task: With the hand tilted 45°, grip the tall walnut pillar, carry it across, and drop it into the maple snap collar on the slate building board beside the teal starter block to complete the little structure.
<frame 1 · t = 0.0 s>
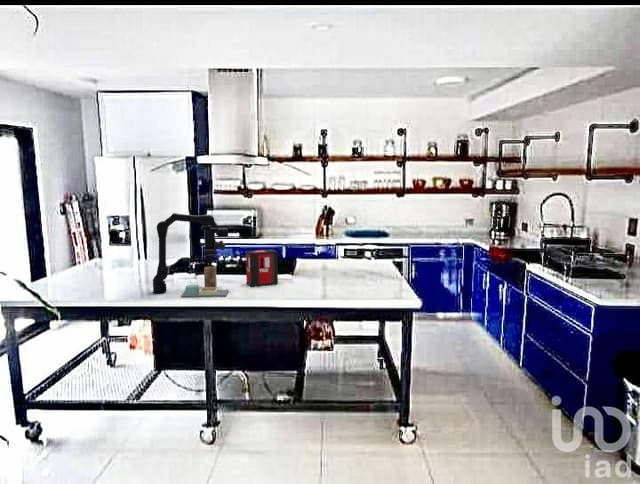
hand: (210, 264, 290), 15 cm above the table, tool pointing down, fingers open, 9 cm apart
pillar: (210, 289, 295), on the table
board: (208, 294, 282), on the table
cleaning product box: (262, 284, 307), on the table
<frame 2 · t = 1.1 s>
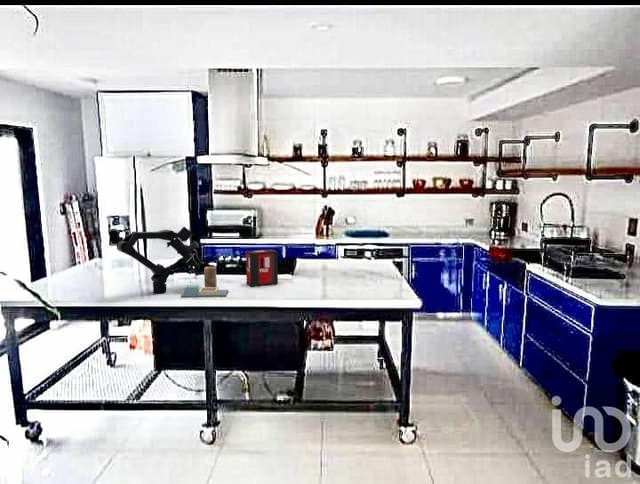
hand: (200, 266, 293), 13 cm above the table, tool tilted 45°, fingers open, 9 cm apart
nothing on the table moved.
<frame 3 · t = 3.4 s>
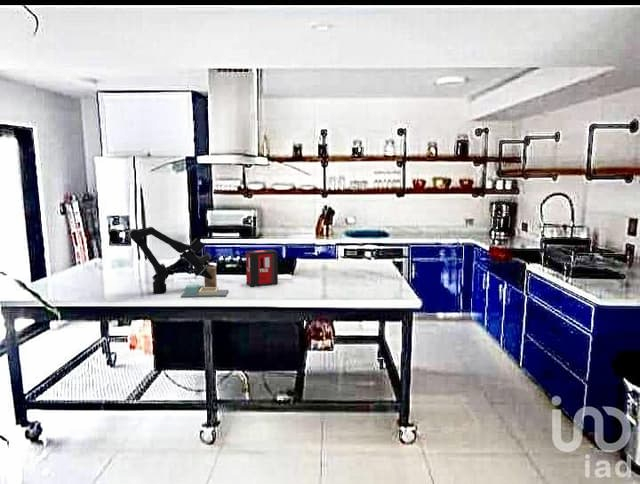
hand: (212, 277, 294), 7 cm above the table, tool tilted 45°, fingers closed on pillar, 6 cm apart
pillar: (210, 289, 295), on the table, touching gripper
everything else where it was.
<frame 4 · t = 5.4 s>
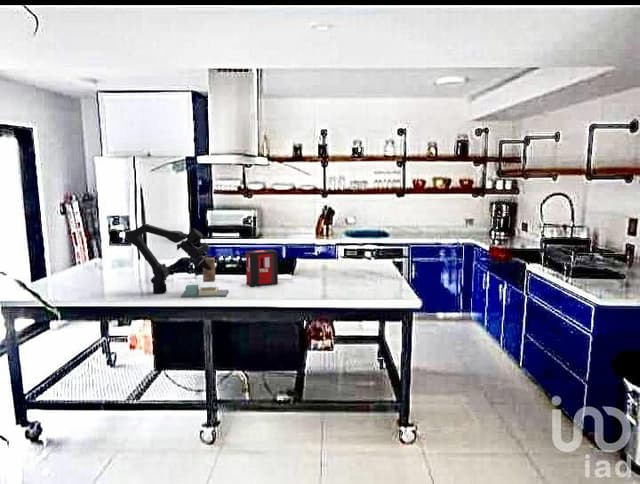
hand: (211, 268, 285), 14 cm above the table, tool tilted 45°, fingers closed on pillar, 6 cm apart
pillar: (209, 280, 285), point 7 cm above the table, touching gripper
everything else where it was.
when the fingers open (8 cm above the table, at t = 7.3 s): pillar stays where it is, resting on board.
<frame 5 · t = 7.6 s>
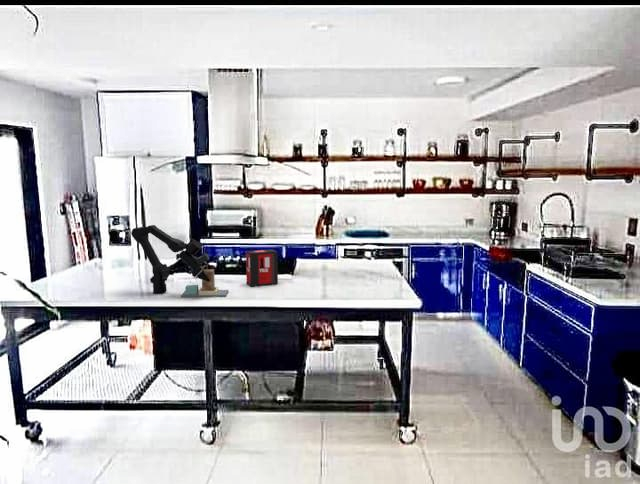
hand: (210, 279, 281), 9 cm above the table, tool tilted 45°, fingers open, 9 cm apart
pillar: (208, 292, 282), point 1 cm above the table, touching board
everything else where it was.
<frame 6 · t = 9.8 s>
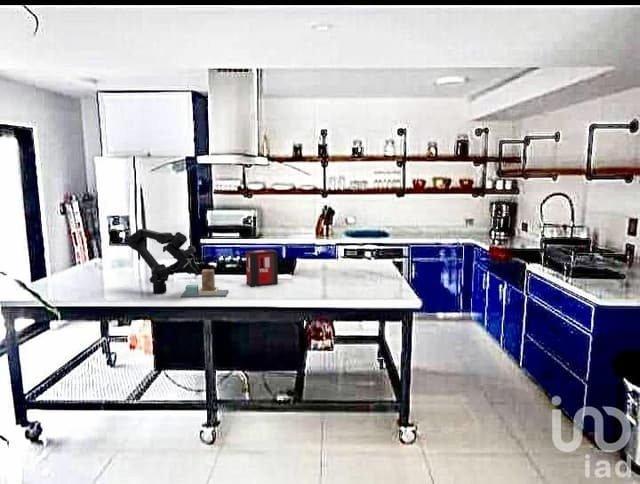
hand: (197, 271, 280), 13 cm above the table, tool tilted 45°, fingers open, 9 cm apart
nothing on the table moved.
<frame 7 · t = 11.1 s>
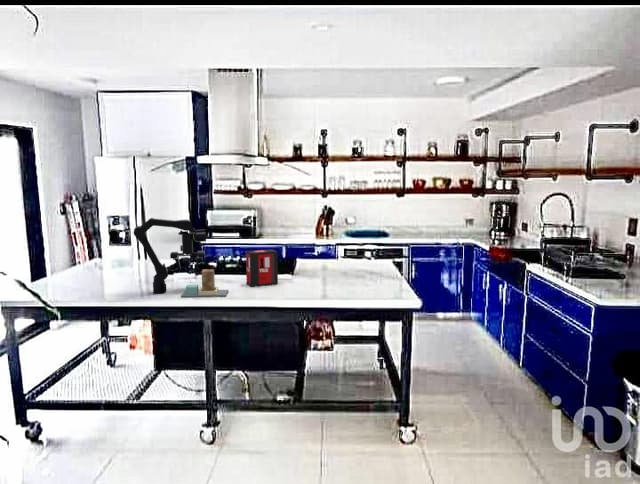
hand: (188, 269, 290), 12 cm above the table, tool pointing down, fingers open, 9 cm apart
nothing on the table moved.
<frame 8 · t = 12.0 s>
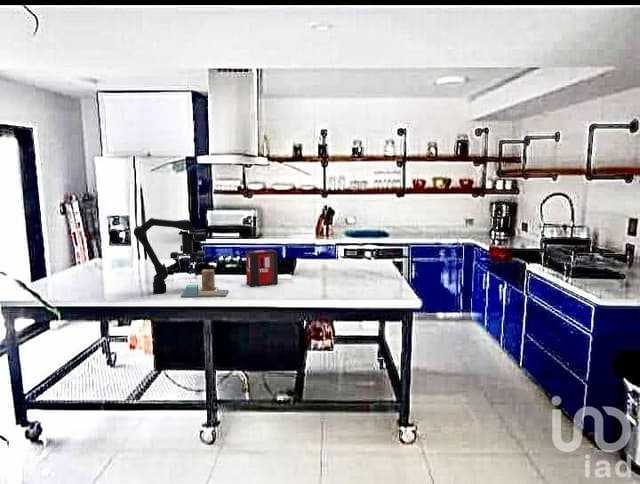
hand: (188, 269, 290), 12 cm above the table, tool pointing down, fingers open, 9 cm apart
nothing on the table moved.
at the end: pillar 0.1 cm off-centre on the board, point 1.0 cm above the board's base; pillar tilted 0°; the gripper is holding nothing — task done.
